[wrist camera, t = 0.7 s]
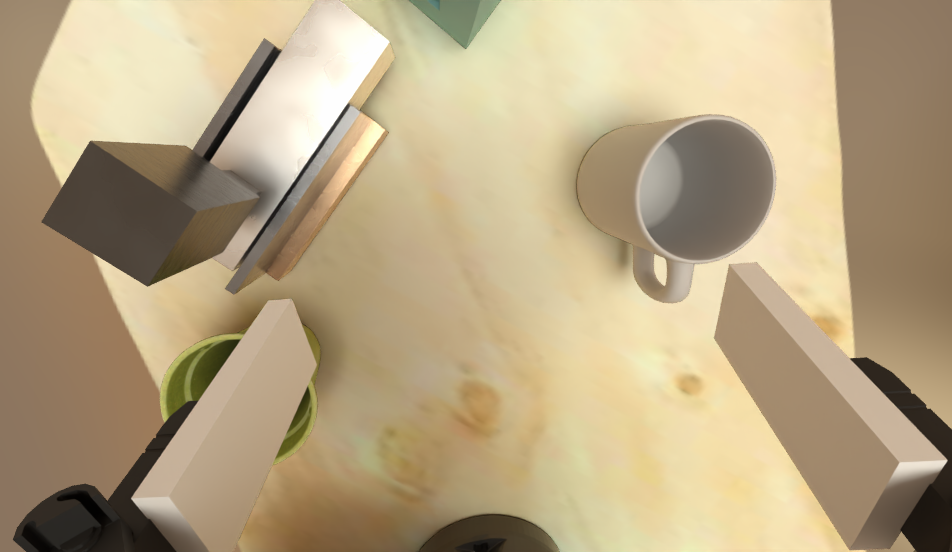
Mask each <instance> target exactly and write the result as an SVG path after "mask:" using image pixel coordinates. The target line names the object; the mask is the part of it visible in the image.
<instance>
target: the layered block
mask: <svg viewBox="0 0 952 552" xmlns="http://www.w3.org/2000/svg"><path fill="white" fill-rule="evenodd" d="M281 52H282V50H281V49H279V48H277V47H276V46H275V45H273V44H272V43H270V42H269V41H268V40H266V39H265V38H264V39H263V41H262V43H261V44H260V46H259V47H258V49H257V50H256V52H255V53H254V55H253V57H252V58H251V60H250V61H249V63H248V64H247V66H246V67H245V69H244V71H243V72H242V74H241V75H240V77H239V78H238V80H237V82H236V83H235V85H234V86H233V88H232V89H231V91H230V92H229V94H228V96H227V97H226V99H225V100H224V102H223V103H222V105H221V106H220V108H219V110H218V111H217V113H216V114H215V116H214V117H213V119H212V120H211V122H210V124H209V125H208V127H207V128H206V130H205V131H204V133H203V135H202V136H201V138H200V139H199V141H198V142H197V144H196V145H195V147H194V149H193V151H194V152H196V153H197V154H199V155H200V156H201V157H203V158H204V159H206V160H207V161H209V162H210V161H211V159H212V158H213V156H214V155H215V153H216V152H217V150H218V149H219V147H220V146H221V144H222V142H223V141H224V139H225V138H226V136H227V135H228V133H229V132H230V130H231V129H232V127H233V126H234V124H235V122H236V121H237V119H238V118H239V116H240V115H241V113H242V112H243V110H244V109H245V107H246V106H247V104H248V102H249V101H250V99H251V98H252V96H253V95H254V93H255V92H256V90H257V89H258V87H259V86H260V84H261V82H262V81H263V79H264V78H265V76H266V75H267V73H268V72H269V70H270V69H271V67H272V66H273V64H274V63H275V61H276V59H277V58H278V56H279V55H280V53H281ZM388 133H389V132H388V131H387V130H385V129H384V128H383V127H381V126H380V125H379V124H378V123H376V122H375V121H374V120H372V119H371V118H370V117H369V116H367V115H366V114H365V113H363V112H362V111H361V110H358V109H356V108H354V107H353V106H350V108H349V109H348V111H347V112H346V114H345V115H344V116H343V118H342V119H341V121H340V122H339V124H338V125H337V127H336V128H335V130H334V131H333V132H332V134H331V135H330V137H329V138H328V140H327V141H326V143H325V144H324V146H323V147H322V148H321V150H320V151H319V153H318V154H317V156H316V157H315V159H314V160H313V162H312V163H311V164H310V166H309V167H308V169H307V170H306V172H305V173H304V175H303V176H302V178H301V179H300V180H299V182H298V183H297V185H296V186H295V188H294V189H293V191H292V192H291V194H290V195H289V196H288V198H287V199H286V201H285V202H284V204H283V205H282V207H281V208H280V210H279V211H278V212H277V214H276V215H275V217H274V218H273V220H272V221H271V223H270V224H269V226H268V227H267V228H266V230H265V231H264V233H263V234H262V236H261V237H260V239H259V240H258V242H257V243H256V244H255V246H254V247H253V249H252V250H251V252H250V253H249V255H248V256H247V258H246V259H245V260H244V262H243V263H242V265H241V266H240V268H239V269H238V271H237V272H236V274H235V275H234V276H233V278H232V279H231V281H230V282H229V284H228V285H227V287H226V288H225V289H226V290H228V291H229V292H231V293H232V294H236V293H237V292H239V291H240V290H242V289H243V288H244V287H246V286H247V285H249V284H250V283H252V282H253V281H255V280H256V279H258V278H259V277H261V276H262V275H263V274H265V273H267V274H269V275H270V276H272V277H273V278H275V279H276V280H278V281H279V280H280V279H281V278H283V277H284V276H285V275H287V274H288V273H289V272H290V271H291V270H292V269H293V267H294V266H295V264H296V263H297V262H298V260H299V259H300V257H301V256H302V255H303V253H304V252H305V250H306V249H307V247H308V246H309V245H310V243H311V242H312V240H313V239H314V238H315V236H316V235H317V233H318V232H319V230H320V229H321V228H322V226H323V225H324V223H325V222H326V221H327V219H328V218H329V216H330V215H331V214H332V212H333V211H334V209H335V208H336V206H337V205H338V204H339V202H340V201H341V199H342V198H343V197H344V195H345V194H346V192H347V191H348V190H349V188H350V187H351V185H352V184H353V182H354V181H355V180H356V178H357V177H358V175H359V174H360V173H361V171H362V170H363V168H364V167H365V165H366V164H367V163H368V161H369V160H370V158H371V157H372V156H373V154H374V153H375V151H376V150H377V149H378V147H379V146H380V144H381V143H382V141H383V140H384V139H385V137H386V136H387V134H388Z"/></svg>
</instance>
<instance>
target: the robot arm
mask: <svg viewBox="0 0 952 552" xmlns="http://www.w3.org/2000/svg"><path fill="white" fill-rule="evenodd" d="M714 339H715V341H716V342H717V344H718V345H719V347H720V348H721V350H722V352H723V353H724V355H725V356H726V358H727V359H728V361H729V363H730V364H731V366H732V367H733V369H734V370H735V372H736V373H737V375H738V377H739V378H740V380H741V381H742V383H743V384H744V386H745V388H746V389H747V391H748V392H749V394H750V395H751V397H752V399H753V400H754V402H755V403H756V405H757V406H758V408H759V409H760V411H761V413H762V414H763V416H764V417H765V419H766V420H767V422H768V424H769V425H770V427H771V428H772V430H773V431H774V433H775V435H776V436H777V438H778V439H779V441H780V442H781V444H782V445H783V447H784V449H785V450H786V452H787V453H788V455H789V456H790V458H791V460H792V461H793V463H794V464H795V466H796V467H797V469H798V471H799V472H800V474H801V475H802V477H803V478H804V480H805V481H806V483H807V485H808V486H809V488H810V489H811V491H812V492H813V494H814V496H815V497H816V499H817V500H818V502H819V503H820V505H821V507H822V508H823V510H824V511H825V513H826V514H827V516H828V517H829V519H830V521H831V522H832V524H833V525H834V527H835V528H836V530H837V532H838V533H839V535H840V536H841V538H842V539H843V541H844V543H845V544H846V546H847V547H848V549H849V550H870V549H890V548H891V546H892V545H893V543H894V542H895V540H896V538H897V537H898V536H899V534H900V532H901V531H902V533H903V534H904V535H905V537H906V538H907V539H908V541H909V542H910V543H911V545H912V546H913V547H914V549H915V550H914V552H952V429H951V428H950V427H948V425H946V424H945V423H944V422H943V421H942V420H941V419H940V418H939V417H938V416H937V415H936V414H935V413H934V412H933V411H932V410H931V409H927V408H926V404H925V403H924V402H923V401H921V400H920V399H919V398H918V397H917V396H916V395H915V394H912V393H911V390H910V389H909V388H908V387H907V386H906V385H905V384H904V383H903V382H902V381H901V380H900V379H899V378H897V377H896V376H895V375H894V374H893V373H892V372H890V371H889V370H887V369H886V368H884V367H882V366H880V365H879V364H877V363H875V362H874V361H872V360H870V359H869V358H867V357H866V358H849V357H848V356H847V355H846V354H845V353H844V352H843V351H842V350H841V349H840V348H839V347H838V346H837V345H836V344H835V343H834V342H833V341H832V340H831V339H830V338H829V337H828V336H827V335H826V334H825V333H824V332H823V331H822V329H821V328H820V327H819V326H818V325H817V324H816V323H815V322H814V321H813V320H812V319H811V318H810V317H809V316H808V315H807V314H806V313H805V312H804V311H803V310H802V309H801V308H800V307H799V306H798V305H797V304H796V303H795V302H794V300H793V299H792V298H791V297H790V296H789V295H788V294H787V293H786V292H785V291H784V290H783V289H782V288H781V287H780V286H779V285H778V284H777V283H776V282H775V281H774V280H773V279H772V278H771V277H770V276H769V275H768V274H767V273H766V272H765V270H764V269H763V268H762V267H761V266H760V265H759V264H758V263H757V262H754V263H741V264H729V268H728V273H727V278H726V282H725V287H724V292H723V297H722V302H721V307H720V312H719V317H718V322H717V326H716V331H715V336H714ZM316 366H317V364H316V361H315V358H314V356H313V353H312V350H311V348H310V345H309V342H308V340H307V337H306V334H305V332H304V329H303V327H302V324H301V321H300V319H299V316H298V313H297V311H296V308H295V305H294V303H293V300H292V299H280V300H268V301H267V303H266V304H265V306H264V307H263V309H262V310H261V312H260V313H259V314H258V316H257V317H256V319H255V320H254V322H253V323H252V325H251V326H250V327H249V329H248V330H247V332H246V333H245V335H244V336H243V338H242V339H241V340H240V342H239V343H238V345H237V346H236V348H235V349H234V350H233V352H232V353H231V355H230V356H229V358H228V359H227V361H226V362H225V363H224V365H223V366H222V368H221V369H220V371H219V372H218V374H217V375H216V376H215V378H214V379H213V381H212V382H211V384H210V385H209V387H208V388H207V389H206V391H205V392H204V394H203V395H202V397H201V398H200V400H198V401H188V402H186V403H185V404H184V405H183V406H182V407H180V408H179V409H178V410H177V411H176V412H174V413H173V414H172V415H171V416H170V417H169V418H168V419H167V421H166V422H165V424H164V425H163V426H162V427H161V429H160V430H159V432H158V433H157V434H156V438H153V440H152V441H151V442H150V444H149V445H148V446H147V448H146V449H145V450H146V452H145V453H142V455H141V456H140V457H139V459H138V460H137V461H136V463H135V464H134V466H133V467H132V468H131V470H130V471H129V472H128V474H127V475H126V476H125V478H124V479H123V480H122V482H121V483H120V484H119V486H118V487H117V489H116V490H115V491H114V493H113V494H112V495H111V497H110V498H109V500H108V501H107V500H106V499H105V498H104V497H103V495H102V494H101V493H100V492H99V491H98V490H97V489H96V488H95V486H91V485H88V484H81V485H76V486H71V487H69V488H66V489H64V490H61V491H59V492H57V493H55V494H53V495H52V496H50V497H49V498H47V499H45V500H44V501H42V502H41V503H40V504H39V505H37V506H36V507H35V508H34V509H33V510H32V511H31V512H30V513H28V514H27V516H26V517H25V518H24V519H23V521H22V522H21V523H20V525H19V526H18V527H17V530H16V532H15V536H14V538H13V540H14V541H15V542H16V543H17V544H18V545H19V546H21V547H22V548H23V549H24V550H25V551H26V552H233V551H234V549H235V547H236V545H237V543H238V540H239V538H240V536H241V534H242V531H243V529H244V527H245V525H246V523H247V520H248V518H249V516H250V514H251V511H252V509H253V507H254V505H255V502H256V500H257V498H258V496H259V493H260V491H261V489H262V487H263V485H264V482H265V480H266V478H267V476H268V473H269V471H270V469H271V467H272V464H273V462H274V460H275V458H276V455H277V453H278V451H279V449H280V447H281V444H282V442H283V440H284V438H285V435H286V433H287V431H288V429H289V426H290V424H291V422H292V420H293V418H294V415H295V413H296V411H297V409H298V406H299V404H300V402H301V400H302V397H303V395H304V393H305V391H306V388H307V386H308V384H309V382H310V380H311V377H312V375H313V373H314V371H315V368H316ZM419 552H560V551H559V549H558V547H557V546H556V544H555V543H554V542H553V540H552V539H551V538H550V537H549V536H548V535H547V534H546V533H545V532H544V531H542V530H541V529H540V528H538V527H537V526H535V525H533V524H531V523H529V522H527V521H524V520H521V519H518V518H514V517H509V516H501V515H486V516H478V517H473V518H469V519H465V520H462V521H459V522H457V523H454V524H452V525H450V526H448V527H446V528H445V529H443V530H441V531H440V532H438V533H437V534H436V535H434V536H433V537H432V538H431V539H430V540H429V541H428V542H426V544H425V545H424V546H423V547H422V548H421V549H420V551H419Z"/></svg>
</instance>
